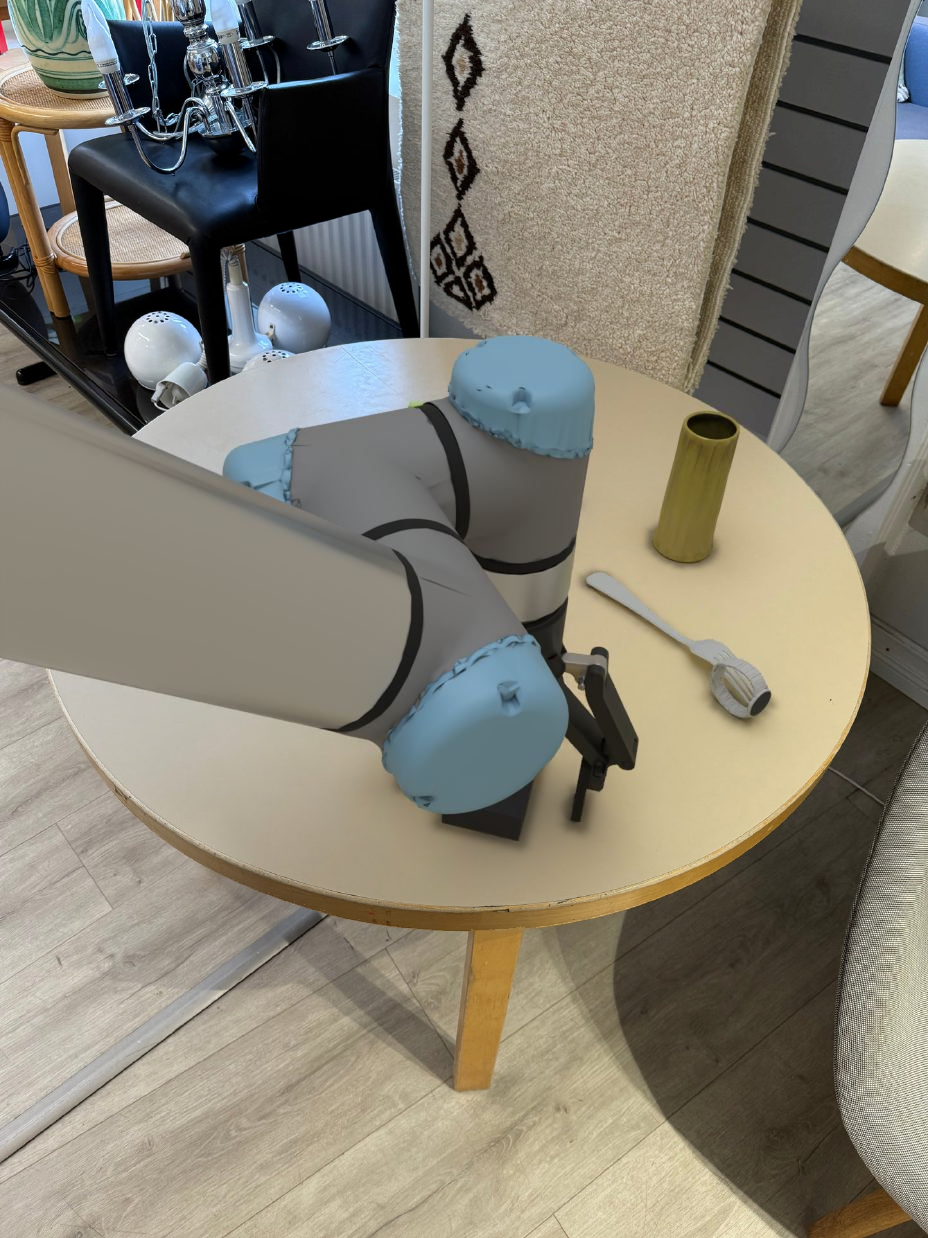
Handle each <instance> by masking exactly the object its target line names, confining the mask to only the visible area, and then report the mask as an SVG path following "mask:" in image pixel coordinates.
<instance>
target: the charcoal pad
mask: <svg viewBox="0 0 928 1238" xmlns="http://www.w3.org/2000/svg"><path fill="white" fill-rule="evenodd" d="M534 781H535V778H534V779H533V780H532V781H531V782H529V783H528V784H527V785H525V786H524V787H523V788H521V789H520V790H518V791H517V792H515V793H514V794H512V795H510V796H509V797H507V798H505V799H503V800H501V801H499V802H497V803H495V804H492V805H490V806H487V807H485V808H481V809H478V810H474V811H470V812H465V813H457V814H441V823H442V824H446V825H450V826H455V827H458V828H463V829H466V830H470V831H471V830H472V831H476V832H480V833H484V834H488V835H493V836H496V837H500V838H505V839H509V840H514V841H520V838H521V835H522V829H523V825H524V821H525V818H526V813H527V809H528V805H529V801H530V797H531V792H532V789H533V785H534Z"/></svg>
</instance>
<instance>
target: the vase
mask: <svg viewBox="0 0 928 1238" xmlns="http://www.w3.org/2000/svg"><path fill="white" fill-rule="evenodd" d="M679 432H680V433H679V436H678V441H677V446H676V450H675V455H674V459H673V462H672V465H671V470H670V473H669V478H668V480H667V485H666V488H665V493H664V496H663V500H662V503H661V508H660V513H659V518H658V523H657V526H656V528H655V530H654V532H653V535H652V544H653V546H654V548H655V550H657V551H658V553H660V554H661V555H662V556H664V557H665V558H667V559H670V560H673V561H675V562H680V563H695V562H700V561H702V560H704V559H706V558H707V557H708V556H709V555H710V554H711V552H712V550H713V545H714V537H715V531H716V528H717V524H718V523H717V522H718V518H719V515H720V512H721V508H722V505H723V500H724V496H725V492H726V488H727V484H728V477H729V475H730V472H731V469H732V464H733V461H734V456H735V454H736V449H737V445H738V442H739V438H740V434H741V426H740V424H739V423H738V422H737V421H736V420H735V419H734V418H733V417H732V416H730V415H727V414H725V413H723V412H721V411H714V410H699V411H693V412H692V413H689V414H687V416H686V417H684V419H683V422H682V425H681V428H680V431H679Z"/></svg>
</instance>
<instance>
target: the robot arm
mask: <svg viewBox="0 0 928 1238" xmlns="http://www.w3.org/2000/svg"><path fill="white" fill-rule="evenodd" d="M595 384H596V383H595V378H594V374H593V372H592V370H591V368H590V366H589V364H588V363H587V362H586V361H584V360H583V359H582V358H580V357H579V356H578V354H577V353H576V352H575V351H574V350H573V349H572V348H569V347H568V346H565V345H564V344H561V343H560V342H557V341H555V340H551V339H548V338H545V337H540V336H535V335H526V334H517V335H516V334H508V335H498V336H495V337H489V338H485V339H482V340H480V341H478V343H477V344H476V345H475V346H474V347H468V348H466V349H465V350H463V351H462V352H460V354H459V355H458V357H457V358H456V360H455V361H454V364H453V367H452V370H451V377H450V381H449V384H448V385H447V393H448V396H446V397H443V398H439V399H432V400H428V402H427V401H424V402H425V403H423V405H420V406H415V407H409V408H408V407H403V408H398V409H394V410H389V411H384V412H383V411H382V412H378V413H372V414H368V415H363V416H358V417H352V418H347V419H343V420H338V421H332V422H328V423H322V424H317V425H312V426H306V427H298V426H297V427H295V428H290V430H289V431H287V432H285V433H281V434H278V435H273V436H270V437H266V438H264V439H259V440H256V441H252V442H249V443H248V442H247V443H245V444H242V445H238V446H236V447H234V448H233V449H231V450H230V451H229V452H228V453H227V455H226V457H225V459H224V462H223V464H222V472H221V473H222V474H219V473H217V472H215V471H212V470H210V469H208V468H205V467H203V466H200V465H198V464H196V463H194V462H192V461H189V460H186V459H184V458H182V457H180V456H178V455H175V454H173V453H171V452H168V451H167V450H166V451H165V450H163V449H161V448H158V447H156V446H154V445H152V444H149V443H147V442H145V441H142V440H140V439H138V438H135V437H133V436H130V435H128V434H127V433H123V432H121V431H119V430H117V429H114V428H112V427H110V426H107V425H105V424H104V423H100V422H98V421H95V420H93V419H91V418H89V417H86V416H84V415H81V414H79V413H77V412H75V411H72V410H70V409H67V408H65V407H63V406H60V405H58V404H56V403H53V402H51V401H50V400H49V401H48V400H47V399H44V398H41V397H40V396H37V395H34V394H33V393H30V392H28V391H26V390H23V389H21V388H19V387H16V386H14V385H11V384H9V383H6V382H4V381H2V380H0V659H3V660H6V661H12V662H16V663H20V664H25V665H30V666H35V667H38V668H44V669H46V670H53V671H57V672H62V673H66V674H70V675H75V676H79V677H85V678H89V679H92V680H93V679H94V680H98V681H102V682H107V683H111V684H116V685H121V686H125V687H129V688H134V689H139V690H143V691H148V692H151V693H152V692H153V693H156V694H161V695H165V696H171V697H175V698H178V699H179V698H180V699H183V700H189V701H194V702H197V703H203V704H207V705H210V706H215V707H220V708H225V709H229V710H234V711H239V712H243V713H246V714H247V713H248V714H252V715H257V716H260V717H264V718H265V717H266V718H271V719H275V720H278V721H283V722H284V721H285V722H288V723H293V724H297V725H301V726H307V727H311V728H316V729H319V730H324V731H328V732H332V733H335V734H338V735H343V736H346V737H351V738H357V739H359V740H360V739H361V740H365V741H370V742H372V743H373V744H374V745H375V746H377V747H378V748H379V750H380V752H381V759H380V761H381V765H382V767H383V769H384V770H385V771H386V772H387V773H388V774H390V775H391V774H392V776H393V778H394V779H395V781H396V783H397V784H398V786H399V788H400V790H401V792H402V793H403V795H404V796H405V797H406V798H407V799H408V800H409V801H411V802H412V803H414V804H416V806H417V808H420V809H422V810H424V811H427V812H430V813H434V814H441V815H442V814H457V813H465V812H470V811H474V810H478V809H481V808H485V807H487V806H490V805H492V804H495V803H497V802H499V801H501V800H503V799H505V798H507V797H509V796H510V795H512V794H514V793H515V792H517V791H518V790H520V789H521V788H523V787H524V786H525V785H527V784H528V783H529V782H531V781H532V780H533V779H534V780H535V777H536V776H537V774H539V773H540V772H541V770H542V769H543V768H544V767H545V766H547V765H548V764H549V763H550V762H551V761H552V760H553V759H554V757H556V754H557V753H558V751H559V750H560V748H561V746H562V744H563V742H564V739H565V738H566V739H567V741H568V742H569V743H570V744H571V745H572V746H573V747H574V748H575V750H576V751H577V752H578V753H579V754H580V755H581V761H580V767H579V771H578V778H577V782H576V788H575V792H574V798H573V804H572V808H571V814H570V819H569V821H574V822H577V823H580V822H581V820H582V815H583V809H584V804H585V801H586V795H587V790H589V791H593V792H596V793H597V792H598V793H600V792H601V791H603V789H604V787H605V786H604V785H605V781H606V777H607V776H608V775H607V774H608V770H609V768H610V767H611V766H618V767H619V769H621V770H623V771H629V772H630V771H633V770H634V769H635V767H636V762H637V756H638V755H637V754H638V748H639V742H640V739H639V736H638V734H637V731H636V730H635V727H634V725H633V722H632V721H631V719H630V716H629V715H628V711H627V710H626V708H625V705H624V703H623V701H622V699H621V696H620V695H619V693H618V690H617V687H616V685H615V682H614V681H613V678H612V677H611V673H610V672H609V665H610V664H609V661H610V653H609V650H608V649H607V648H606V647H604V646H594V647H592V648H591V650H590V654H584V653H575V652H569V651H568V650H567V648H566V646H565V644H564V632H565V628H566V626H565V625H566V618H567V611H568V607H569V606H568V605H569V592H570V589H571V585H572V576H573V569H574V562H575V556H576V555H575V554H576V549H577V548H576V547H577V535H578V530H579V525H580V518H581V512H582V504H583V500H584V499H583V498H584V492H585V486H586V480H587V474H588V468H589V463H590V456H591V452H592V450H593V449H594V440H595V439H594V438H595V437H594V422H595V410H596V399H595V395H596V385H595ZM565 673H567V674H569V675H571V676H572V677H573V678H574V681H575V683H576V684H577V689H578V690H579V691H584V696H585V700H586V702H587V705H588V706H589V709H590V711H591V712H590V711H589V709H588V708H587V707H586V706H585V705H584V704H583V703H582V701H581V700H580V699H579V698H578V697H577V696H576V695H575V693H574V692H573V691H572V690H571V688H569V686H567V684H566V683H565V679H564V674H565Z"/></svg>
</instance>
